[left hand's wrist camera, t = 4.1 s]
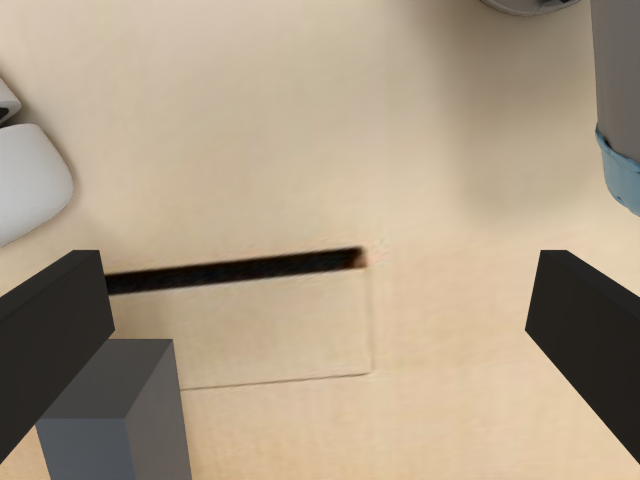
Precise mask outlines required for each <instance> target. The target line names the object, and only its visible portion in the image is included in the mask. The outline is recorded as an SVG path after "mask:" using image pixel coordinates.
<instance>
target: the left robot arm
mask: <svg viewBox="0 0 640 480" xmlns="http://www.w3.org/2000/svg"><path fill="white" fill-rule="evenodd" d="M481 1H482V2H483V3H485V4H486V5H488V6H490V7H492V8H494V9H496V10H498V11H501V12H504V13H507V14H512V15H519V16H534V15H541V14H546V13H550V12H553V11H556V10H559V9H562V8H565V7H568V6H570V5H572V4H575V3H577V2H579V1H581V0H481ZM590 1H591V15H592V30H593V44H594V58H595V73H596V94H597V115H598V122H597V125H596V130H595V132H596V134H595V136H596V139H597V142H598V144H599V146H600V147H601V152H602V159H603V168H604V176H605V181H606V185H607V187H608V190H609V191H610V193H611V194H612V196H613V197H614V198H615V199H616V200H617V201H618V202H619V203H621V204H622V205H623V206H625V207H627V208H628V209H629V210H630V211H631V212H632V213H633V214H635V215H637V216H639V217H640V0H590ZM114 331H115V327H114V322H113V317H112V312H111V307H110V302H109V297H108V292H107V287H106V282H105V277H104V272H103V267H102V262H101V257H100V252H99V250H73V251H71V252H70V253H68V254H67V255H65V256H63V257H62V258H60V259H59V260H57V261H56V262H54V263H53V264H51V265H50V266H48V267H46V268H45V269H43V270H42V271H40V272H39V273H37V274H36V275H34V276H33V277H31V278H29V279H28V280H26V281H25V282H23V283H22V284H20V285H19V286H17V287H16V288H14V289H12V290H11V291H9V292H8V293H6V294H5V295H3V296H2V297H0V464H1V463H2V462H3V461H4V460H5V458H6V457H7V456H8V455H9V454H10V453H11V451H12V450H13V449H14V448H15V447H16V446H17V444H18V443H19V442H20V441H21V440H22V439H23V437H24V436H25V435H26V434H27V433H28V432H29V430H30V429H31V428H32V427H33V426H34V425H35V423H36V422H37V421H38V420H39V419H40V417H41V416H42V415H43V414H44V413H45V412H46V410H47V409H48V408H49V407H50V406H51V405H52V403H53V402H54V401H55V400H56V399H57V398H58V396H59V395H60V394H61V393H62V392H63V391H64V389H65V388H66V387H67V386H68V385H69V384H70V382H71V381H72V380H73V379H74V378H75V377H76V375H77V374H78V373H79V372H80V371H81V370H82V368H83V367H84V366H85V365H86V364H87V363H88V361H89V360H90V359H91V358H92V357H93V355H94V354H95V353H96V352H97V351H98V350H99V348H100V347H101V346H102V345H103V344H104V343H105V341H106V340H107V339H108V338H109V337H110V336H111V334H112V333H113V332H114ZM525 331H526V332H527V333H528V334H529V336H530V337H531V338H532V339H533V340H534V341H535V343H536V344H537V345H538V346H539V347H540V348H541V350H542V351H543V352H544V353H545V354H546V355H547V357H548V358H549V359H550V360H551V361H552V363H553V364H554V365H555V366H556V367H557V368H558V370H559V371H560V372H561V373H562V374H563V375H564V377H565V378H566V379H567V380H568V381H569V382H570V384H571V385H572V386H573V387H574V388H575V389H576V391H577V392H578V393H579V394H580V395H581V396H582V398H583V399H584V400H585V401H586V402H587V403H588V405H589V406H590V407H591V408H592V409H593V410H594V412H595V413H596V414H597V415H598V416H599V417H600V419H601V420H602V421H603V422H604V423H605V425H606V426H607V427H608V428H609V429H610V430H611V432H612V433H613V434H614V435H615V436H616V437H617V439H618V440H619V441H620V442H621V443H622V444H623V446H624V447H625V448H626V449H627V450H628V451H629V453H630V454H631V455H632V456H633V457H634V458H635V460H636V461H637V462H638V463H639V464H640V297H638V296H637V295H635V294H634V293H632V292H631V291H629V290H628V289H626V288H624V287H623V286H621V285H620V284H618V283H617V282H615V281H614V280H612V279H611V278H609V277H607V276H606V275H604V274H603V273H601V272H600V271H598V270H597V269H595V268H594V267H592V266H590V265H589V264H587V263H586V262H584V261H583V260H581V259H580V258H578V257H577V256H575V255H573V254H572V253H570V252H569V251H567V250H541V252H540V257H539V262H538V267H537V272H536V277H535V282H534V287H533V292H532V297H531V302H530V307H529V312H528V317H527V322H526V327H525Z"/></svg>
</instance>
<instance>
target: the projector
mask: <svg viewBox="0 0 640 480" xmlns="http://www.w3.org/2000/svg"><path fill="white" fill-rule="evenodd" d="M20 108H21V103H20V101H19V100H18V99H17V97H16V96H15V95H14V94H13V92H12V91H11V90H10V89H9V87H8V86H7V85H6V84H5V83H4V81H3V80H2V79H1V78H0V124H1V123H2V122H4V121H6V120H7V119H9V118H10V117H12V116H13V115H14V114H16V113H17V112H18V111H19V110H20ZM73 192H74V184H73V180H72V176H71V174H70V171H69V169H68V167H67V165H66V164H65V162H64V160H63V159H62V157H61V156H60V154H59V153H58V151H57V150H56V149H55V147H54V146H53V144H52V143H51V142H50V140H49V139H48V138H47V136H46V135H45V134H44V132H43V131H42V130H41V128H40V127H39V126H38V125H36V124H32V123H26V124H18V125H13V126H9V127H5V128H1V129H0V247H2V246H4V245H6V244H8V243H11V242H13V241H14V240H16V239H18V238H20V237H22V236H24V235H26V234H27V233H29V232H31V231H32V230H34V229H36V228H38V227H39V226H41V225H42V224H44V223H45V222H47V221H48V220H50V219H51V218H52V217H54V216H55V215H56V214H58V213H59V212H60V211H61V210H62V209H63V208H64V207H66V205H67V204H68V203H69V202H70V200H71V198H72V196H73Z"/></svg>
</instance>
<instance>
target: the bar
mask: <svg viewBox="0 0 640 480" xmlns="http://www.w3.org/2000/svg"><path fill="white" fill-rule="evenodd" d="M35 426H36V430H37V433H38V437H39V440H40V443H41V447H42V450H43V454H44V457H45V461H46V464H47V468H48V471H49V475H50V478H51V480H192V476H191V469H190V462H189V454H188V447H187V440H186V433H185V425H184V418H183V411H182V403H181V396H180V389H179V382H178V374H177V367H176V360H175V352H174V345H173V339H107V340H106V341H105V343H104V344H103V345H102V346H101V347H100V348H99V350H98V351H97V352H96V353H95V354H94V355H93V357H92V358H91V359H90V360H89V361H88V363H87V364H86V365H85V366H84V367H83V368H82V370H81V371H80V372H79V373H78V374H77V375H76V377H75V378H74V379H73V380H72V381H71V382H70V384H69V385H68V386H67V387H66V388H65V389H64V391H63V392H62V393H61V394H60V395H59V396H58V398H57V399H56V400H55V401H54V402H53V403H52V405H51V406H50V407H49V408H48V409H47V410H46V412H45V413H44V414H43V415H42V416H41V417H40V419H39V420H38V421H37V422H36V423H35Z"/></svg>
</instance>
